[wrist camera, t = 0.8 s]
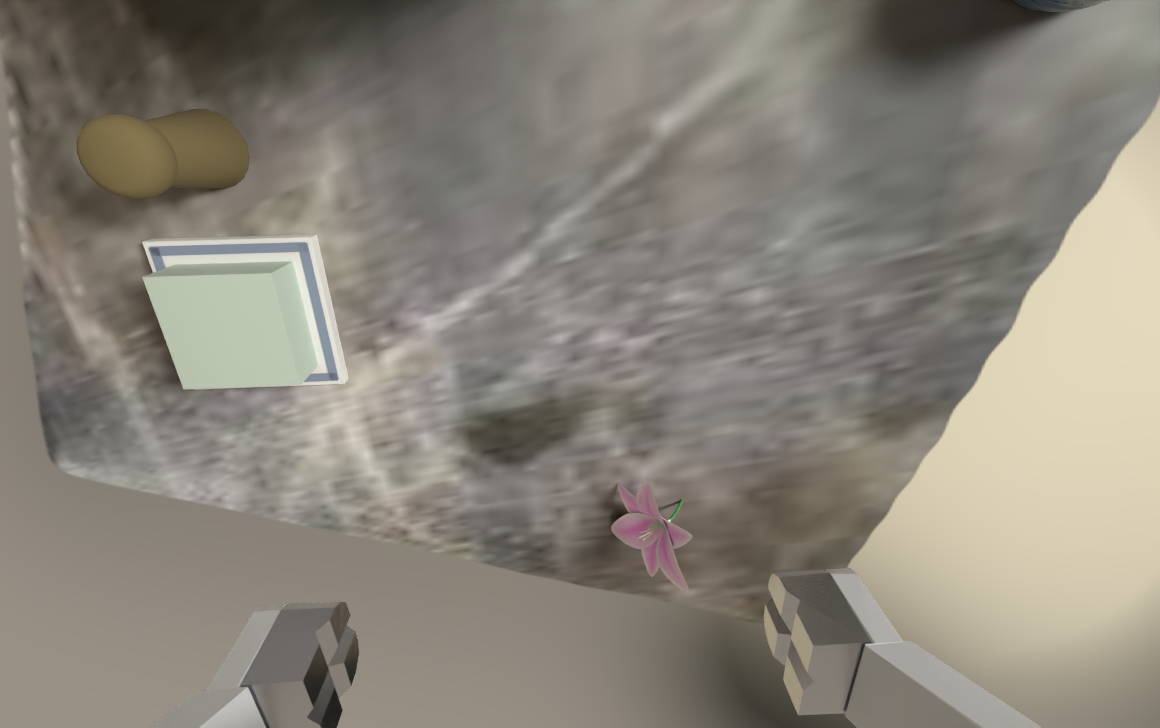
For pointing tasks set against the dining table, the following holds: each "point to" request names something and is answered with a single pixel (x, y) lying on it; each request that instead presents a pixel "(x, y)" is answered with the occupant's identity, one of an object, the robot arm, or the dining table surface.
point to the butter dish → (245, 311)
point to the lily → (651, 533)
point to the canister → (1057, 4)
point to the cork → (162, 153)
